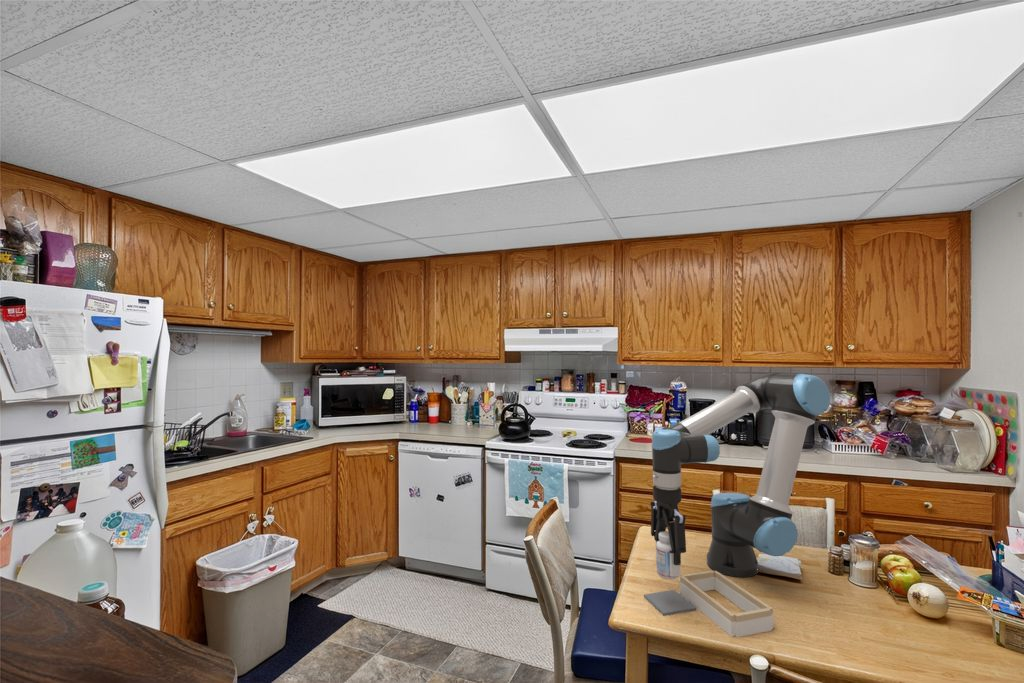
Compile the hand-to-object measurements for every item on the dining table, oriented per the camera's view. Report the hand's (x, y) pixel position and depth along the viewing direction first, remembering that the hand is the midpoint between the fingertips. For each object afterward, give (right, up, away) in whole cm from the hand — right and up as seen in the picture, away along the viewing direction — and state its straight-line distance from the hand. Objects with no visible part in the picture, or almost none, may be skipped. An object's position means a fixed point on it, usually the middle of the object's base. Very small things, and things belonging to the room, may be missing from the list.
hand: (668, 569), depth 131 cm
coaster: (0, -9, 0) cm, 9 cm away
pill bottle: (0, -2, 0) cm, 2 cm away
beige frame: (+14, -9, -4) cm, 17 cm away
